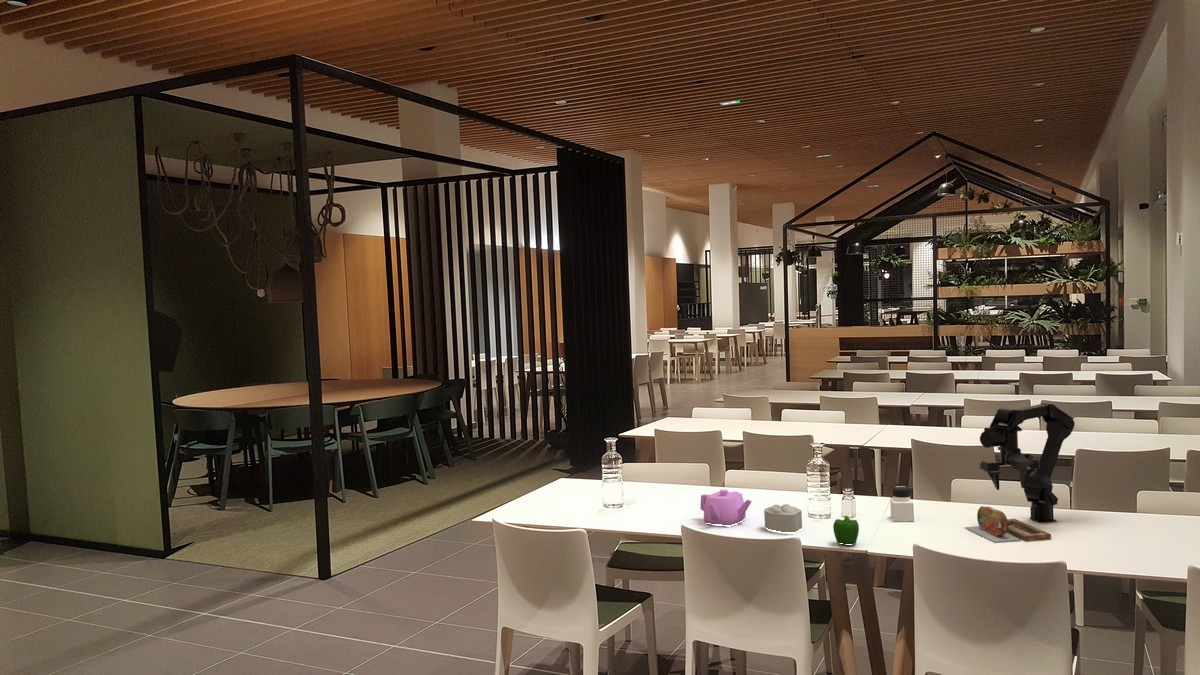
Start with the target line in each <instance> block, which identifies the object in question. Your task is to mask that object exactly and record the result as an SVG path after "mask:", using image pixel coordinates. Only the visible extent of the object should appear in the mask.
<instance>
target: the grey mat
mask: <svg viewBox="0 0 1200 675" xmlns="http://www.w3.org/2000/svg"><path fill="white" fill-rule="evenodd" d="M965 528H966V529H965ZM963 529H965V530H967V531H969V532H971V533H973V534H975V535H977V536H980V537H982V538H983V537H984V538H983V539H986V540H987V539H988V541H989V540H990V541H989V542H991V541H992V542H991V543H993V542H994V543H993V544H997V543H998V544H999V543H1010V542H1011V543H1012V542H1021V541H1022V540H1021V539H1019V538H1016V537H1014V536H1012V535H1010V534H1008V533H1006V534H1005V535H1003V536H994V535H992V534H990V533H988V532H985V531H983V530H982V529H981V528H980V526H979V525H978V526H977V525H975V526H965V527H964V528H963Z"/></svg>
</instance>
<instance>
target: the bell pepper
mask: <svg viewBox="0 0 1200 675" xmlns="http://www.w3.org/2000/svg"><path fill="white" fill-rule="evenodd" d="M832 528H833V535H834V538H835V540H836V542H837V543H843V544H854V543H855V544H856V543H857V540H858V536H859V530H860V524H859V523H858V521H857V519H850V517H849V515H844V518H843V519H840V518H837V519H835V520H834V523H833V525H832ZM843 544H842V545H843ZM855 544H854V545H855Z"/></svg>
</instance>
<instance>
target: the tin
mask: <svg viewBox="0 0 1200 675" xmlns="http://www.w3.org/2000/svg"><path fill="white" fill-rule="evenodd" d="M976 518H977V524H978V526H980V528H981V529H982V530H983V531H985V532H988V533H990V534H992V535H994V536H1003V535H1005V534H1006V532H1007V526H1008V524H1007V522H1008V521H1007V519H1008V518H1007V515H1006V514H1005V513H1004V512H1003V511H1002V510H999V509H996V508H994V507H991V506H983V505H982V506H980V507H979V508H978V509H977V515H976Z"/></svg>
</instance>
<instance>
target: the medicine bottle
mask: <svg viewBox="0 0 1200 675" xmlns="http://www.w3.org/2000/svg"><path fill="white" fill-rule="evenodd" d="M889 501H890V502H889V503H890V505H889V506H890V517H891V519H892V521H893V522H894V521H913V522H914V521H915V514H914V512H915V511H914V502H913V500H912V499H911V489H910V488H909V487H907V486H905V485H903V486H902V485H900V486H899V485H898V486H895V487H893V488H892V497H891V498H890V499H889Z"/></svg>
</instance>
